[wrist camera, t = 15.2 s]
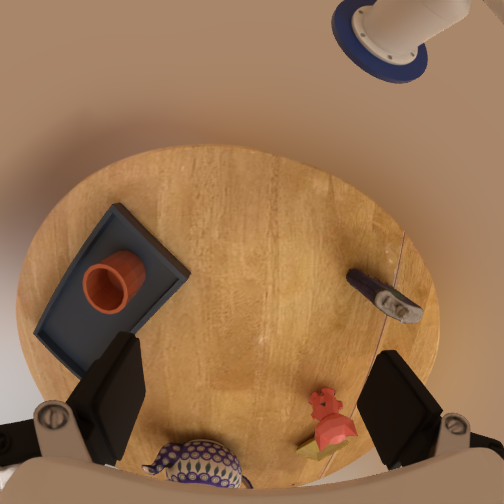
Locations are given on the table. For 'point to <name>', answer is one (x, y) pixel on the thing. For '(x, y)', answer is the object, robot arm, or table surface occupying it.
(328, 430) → the cat figurine
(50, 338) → the tray
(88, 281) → the flower pot
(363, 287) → the flask
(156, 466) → the teapot
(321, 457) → the yellow square dish
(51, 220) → the table surface
